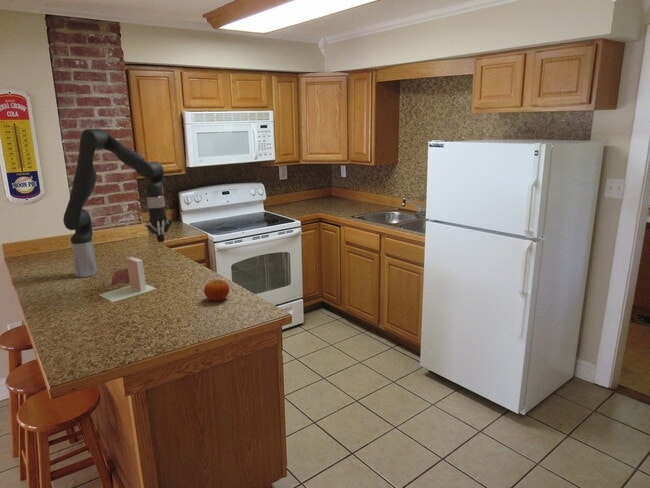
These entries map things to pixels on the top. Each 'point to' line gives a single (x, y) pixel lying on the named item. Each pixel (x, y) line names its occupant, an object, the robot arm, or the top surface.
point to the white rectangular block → (136, 273)
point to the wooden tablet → (121, 277)
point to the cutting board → (124, 293)
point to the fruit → (216, 290)
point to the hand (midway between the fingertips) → (161, 242)
